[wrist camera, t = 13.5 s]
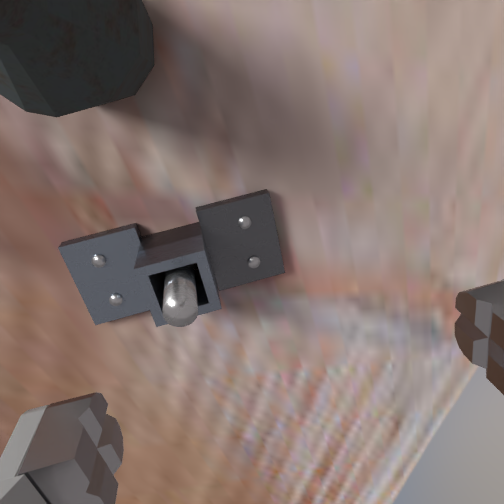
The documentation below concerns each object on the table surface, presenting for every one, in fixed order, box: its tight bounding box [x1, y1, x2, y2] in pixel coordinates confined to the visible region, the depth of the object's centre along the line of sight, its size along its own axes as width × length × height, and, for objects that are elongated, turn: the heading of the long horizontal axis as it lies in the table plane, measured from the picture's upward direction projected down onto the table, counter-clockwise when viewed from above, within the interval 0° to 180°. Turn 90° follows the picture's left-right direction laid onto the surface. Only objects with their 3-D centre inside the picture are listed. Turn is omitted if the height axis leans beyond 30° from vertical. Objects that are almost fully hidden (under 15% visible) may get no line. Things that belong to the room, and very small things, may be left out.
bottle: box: [0, 0, 154, 117], centre depth 20 cm, size 10×10×30 cm
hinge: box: [58, 189, 285, 327], centre depth 40 cm, size 23×10×8 cm, turn 103°
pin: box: [163, 263, 198, 327], centre depth 38 cm, size 3×3×12 cm
